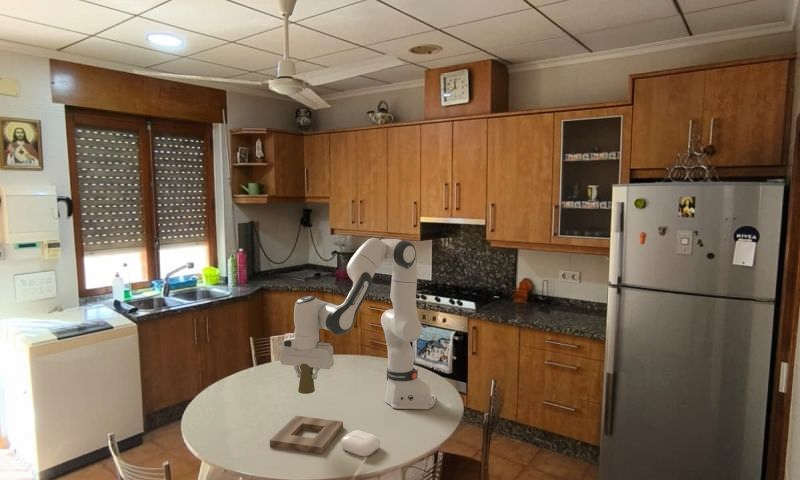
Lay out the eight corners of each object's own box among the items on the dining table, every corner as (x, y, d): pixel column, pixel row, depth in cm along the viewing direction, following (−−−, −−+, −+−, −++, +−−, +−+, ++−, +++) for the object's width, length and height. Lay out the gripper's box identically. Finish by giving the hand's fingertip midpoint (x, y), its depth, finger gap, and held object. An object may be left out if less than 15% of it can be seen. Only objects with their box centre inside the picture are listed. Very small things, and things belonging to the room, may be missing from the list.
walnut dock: (343, 429, 183) (343, 421, 183) (321, 455, 164) (321, 447, 164) (296, 422, 189) (295, 415, 188) (269, 448, 169) (269, 439, 169)
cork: (315, 387, 178) (316, 358, 177) (313, 394, 172) (314, 364, 171) (299, 386, 178) (300, 358, 177) (296, 393, 172) (297, 364, 171)
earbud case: (355, 439, 176) (355, 425, 176) (383, 449, 169) (383, 434, 169) (337, 451, 168) (336, 436, 167) (366, 462, 161) (366, 447, 160)
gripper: (336, 340, 174) (336, 377, 175) (285, 336, 179) (286, 372, 180) (329, 345, 168) (330, 383, 169) (277, 341, 173) (278, 378, 174)
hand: (307, 377), depth 175 cm, fingers closed on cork, 4 cm apart
